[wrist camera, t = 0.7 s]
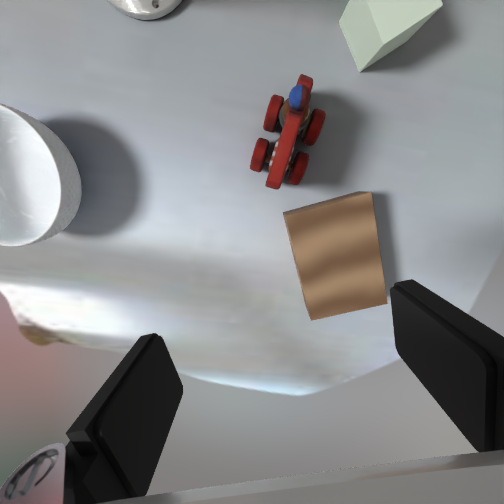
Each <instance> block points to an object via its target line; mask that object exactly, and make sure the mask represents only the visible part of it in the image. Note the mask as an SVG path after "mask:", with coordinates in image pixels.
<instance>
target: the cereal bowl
mask: <svg viewBox="0 0 504 504" xmlns="http://www.w3.org/2000/svg"><path fill="white" fill-rule="evenodd" d="M81 191H82V188H81V178H80V174H79V171H78V168H77V166H76V163H75V161H74V159H73V156H72V155H71V154H70V151H69V150H68V148H67V147H66V146H65V144H64V143H63V142H62V141H61V140H60V139H59V137H58V136H57V135H55V134H54V132H53V131H51V130H50V129H49V128H48V127H47V126H45V125H43V124H42V123H41V122H39V121H38V120H36V119H34V118H33V117H31V116H29V115H28V114H26V113H23V112H21V111H19V110H16V109H14V108H12V107H8V106H6V105H3V104H0V245H3V246H23V245H29V244H32V243H36V242H40V241H42V240H46V239H48V238H50V237H53V236H54V235H56V234H58V233H59V232H61V231H62V230H63V229H65V228H66V227H67V226H68V225H69V224H70V222H71V221H72V220H73V218H74V217H75V215H76V213H77V211H78V208H79V206H80V201H81V194H82V192H81Z"/></svg>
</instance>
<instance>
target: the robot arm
mask: <svg viewBox="0 0 504 504" xmlns="http://www.w3.org/2000/svg"><path fill="white" fill-rule="evenodd" d="M108 1H109V2H110V3H111V4H112V5H113V6H114V7H115V8H116V9H118V10H119V11H121V12H122V13H124V14H125V15H128V16H130V17H133V18H136V19H142V20H151V19H157V18H160V17H163V16H165V15H166V14H168V13H170V12H171V11H173V10H174V9H175V8H176V7H177V6H178V5H179V4H180V3H181V1H182V0H108ZM390 296H391V306H392V316H393V326H394V336H395V346H396V349H397V352H398V354H399V355H400V357H401V358H402V359H403V361H404V362H405V363H406V364H407V365H408V367H409V368H410V369H411V370H412V372H413V373H414V374H415V375H416V377H417V378H418V379H419V380H420V382H421V383H422V384H423V385H424V387H425V388H426V389H427V390H428V391H429V393H430V394H431V395H432V396H433V397H434V399H435V400H436V401H437V403H438V404H439V405H440V406H441V408H442V409H443V410H444V411H445V412H446V414H447V415H448V416H449V417H450V419H451V420H452V421H453V422H454V424H455V425H456V426H457V427H458V429H459V430H460V431H461V432H462V434H463V435H464V436H465V437H466V439H467V440H468V441H469V442H470V443H471V445H472V446H473V447H474V448H475V449H476V450H477V451H478V452H479V453H470V454H461V455H452V456H442V457H434V458H427V459H418V460H410V461H403V462H395V463H388V464H380V465H372V466H363V467H356V468H348V469H340V470H332V471H325V472H317V473H310V474H302V475H295V476H287V477H280V478H272V479H265V480H258V481H250V482H243V483H236V484H229V485H221V486H214V487H206V488H199V489H192V490H185V491H178V492H171V493H164V494H157V495H150V496H145V495H146V493H147V491H148V489H149V486H150V483H151V480H152V477H153V475H154V472H155V469H156V467H157V464H158V461H159V458H160V456H161V453H162V450H163V447H164V444H165V442H166V439H167V436H168V433H169V430H170V428H171V425H172V422H173V420H174V417H175V414H176V411H177V409H178V406H179V403H180V400H181V398H182V395H183V385H182V383H181V380H180V378H179V376H178V373H177V371H176V368H175V366H174V364H173V361H172V359H171V357H170V354H169V352H168V350H167V347H166V345H165V342H164V340H163V338H162V337H161V336H158V334H156V333H153V334H148V335H143V336H141V337H140V338H139V339H138V340H137V342H136V343H135V344H134V346H133V347H132V348H131V349H130V351H129V352H128V353H127V355H126V356H125V357H124V358H123V360H122V361H121V362H120V364H119V365H118V366H117V368H116V369H115V370H114V372H113V373H112V374H111V375H110V377H109V378H108V379H107V380H106V382H105V383H104V384H103V386H102V387H101V388H100V390H99V391H98V392H97V393H96V395H95V396H94V397H93V399H92V400H91V401H90V402H89V404H88V405H87V406H86V408H85V409H84V410H83V411H82V413H81V414H80V415H79V417H78V418H77V419H76V421H75V422H74V423H73V424H72V426H71V427H70V428H69V430H68V431H67V432H66V434H67V436H68V438H69V439H70V442H69V443H68V444H67V446H66V447H65V445H63V444H61V443H54V444H51V445H49V446H46V447H44V448H42V449H41V450H39V451H37V452H36V453H34V454H33V455H32V456H30V457H29V458H28V459H26V460H25V461H24V462H23V463H22V464H21V465H20V466H19V467H18V468H16V470H15V471H14V472H13V473H12V474H11V475H10V476H9V477H8V478H7V480H6V481H5V483H4V484H3V486H2V487H1V488H0V504H504V337H503V336H501V335H500V334H498V333H497V332H495V331H493V330H492V329H490V328H489V327H487V326H486V325H484V324H482V323H481V322H479V321H478V320H476V319H474V318H473V317H471V316H470V315H468V314H467V313H465V312H463V311H462V310H460V309H459V308H457V307H456V306H454V305H452V304H451V303H449V302H448V301H446V300H444V299H443V298H441V297H440V296H438V295H437V294H435V293H433V292H432V291H430V290H429V289H427V288H426V287H424V286H422V285H421V284H419V283H418V282H416V281H414V280H412V279H411V280H406V281H401V282H396V283H395V284H394V287H391V289H390Z"/></svg>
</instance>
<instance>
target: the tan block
mask: <svg viewBox="0 0 504 504" xmlns="http://www.w3.org/2000/svg"><path fill="white" fill-rule="evenodd" d="M283 215H284V219H285V223H286V227H287V232H288V236H289V240H290V244H291V248H292V252H293V256H294V260H295V264H296V268H297V272H298V276H299V280H300V284H301V288H302V292H303V296H304V300H305V305H306V308H307V311H308V313H309V316H310V319H311V321H312V320H316V319H321V318H325V317H330V316H334V315H339V314H343V313H347V312H352V311H356V310H361V309H365V308H370V307H374V306H379V305H383V304H387V297H386V290H385V283H384V276H383V269H382V262H381V255H380V248H379V242H378V235H377V228H376V221H375V214H374V207H373V200H372V193H371V192H360V191H358V192H355V193H351V194H347V195H344V196H340V197H337V198H333V199H329V200H326V201H322V202H319V203H315V204H311V205H308V206H304V207H301V208H297V209H294V210H290V211H286V212H283Z"/></svg>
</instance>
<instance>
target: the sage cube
mask: <svg viewBox="0 0 504 504" xmlns="http://www.w3.org/2000/svg"><path fill="white" fill-rule="evenodd" d="M442 6H443V4H442V1H441V0H349V2H348V4H347V6H346V8H345V11H344V13H343V15H342V17H341V19H340V21H339V24H340V26H341V29H342V31H343V34H344V36H345V39H346V41H347V43H348V46H349V48H350V51H351V53H352V55H353V58H354V60H355V63H356V65H357V68H358V70H359V72H361V71H363V70H364V69H366V68H367V67H369V66H370V65H372V64H373V63H375V62H376V61H378V60H379V59H381V58H382V57H384V56H385V55H387V54H388V53H390V52H391V51H393V50H394V49H396V48H397V47H399V46H401V45H402V44H404V43H405V42H406V41H407V40H408V39H409V38H410V37H411V36H412V35H413V34H414V33H415V32H416V31H417V30H418V29H419V28H420V27H421V26H422V25H423V24H424V23H425V22H426V21H427V20H428V19H429V18H430V17H431V16H432V15H433V14H434V13H435V12H436V11H437V10H438V9H439V8H440V7H442Z"/></svg>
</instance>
